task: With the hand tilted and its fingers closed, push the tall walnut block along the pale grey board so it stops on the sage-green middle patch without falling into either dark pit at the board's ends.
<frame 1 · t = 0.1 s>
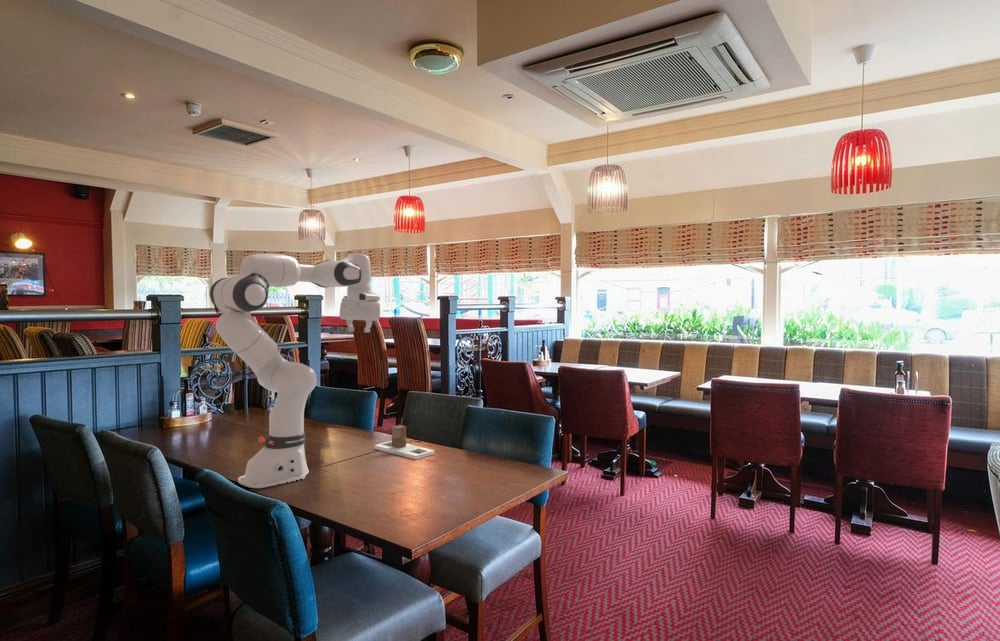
hand: (359, 331, 215), 48 cm above the table, tool pointing down, fingers open, 8 cm apart
walnut block: (399, 446, 224), point 1 cm above the table, touching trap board
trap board: (404, 451, 222), on the table
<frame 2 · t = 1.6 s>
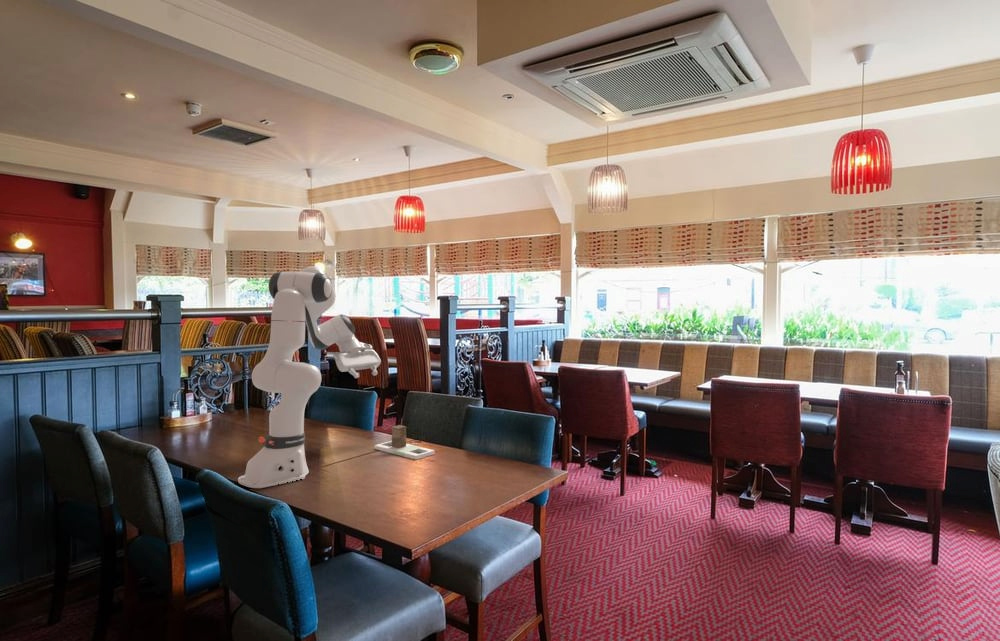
hand: (366, 375, 235), 28 cm above the table, tool tilted 45°, fingers open, 8 cm apart
nothing on the table moved.
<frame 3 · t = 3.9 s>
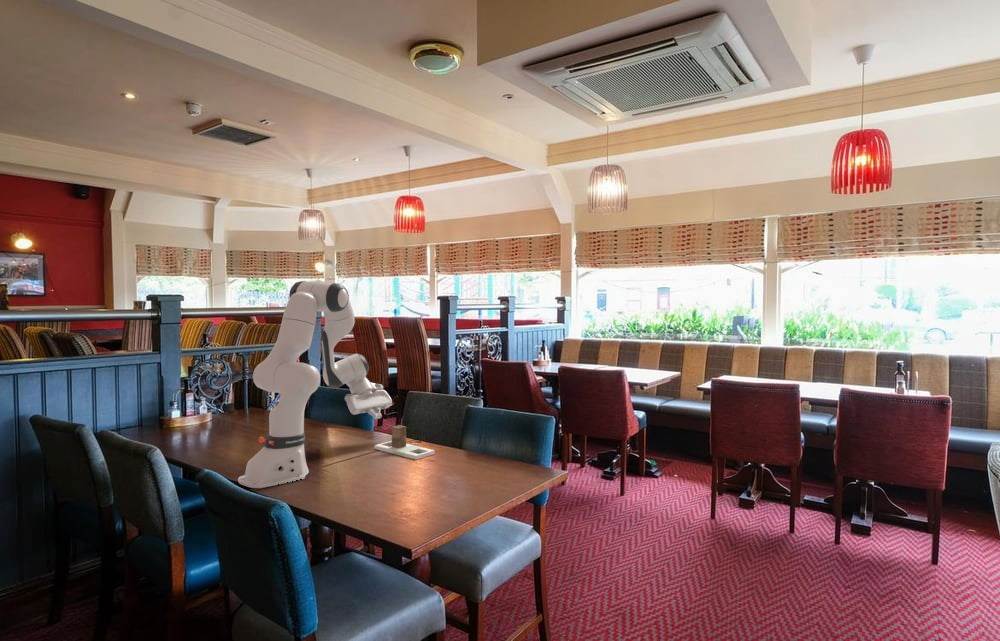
hand: (378, 417, 231), 11 cm above the table, tool tilted 45°, fingers closed
nothing on the table moved.
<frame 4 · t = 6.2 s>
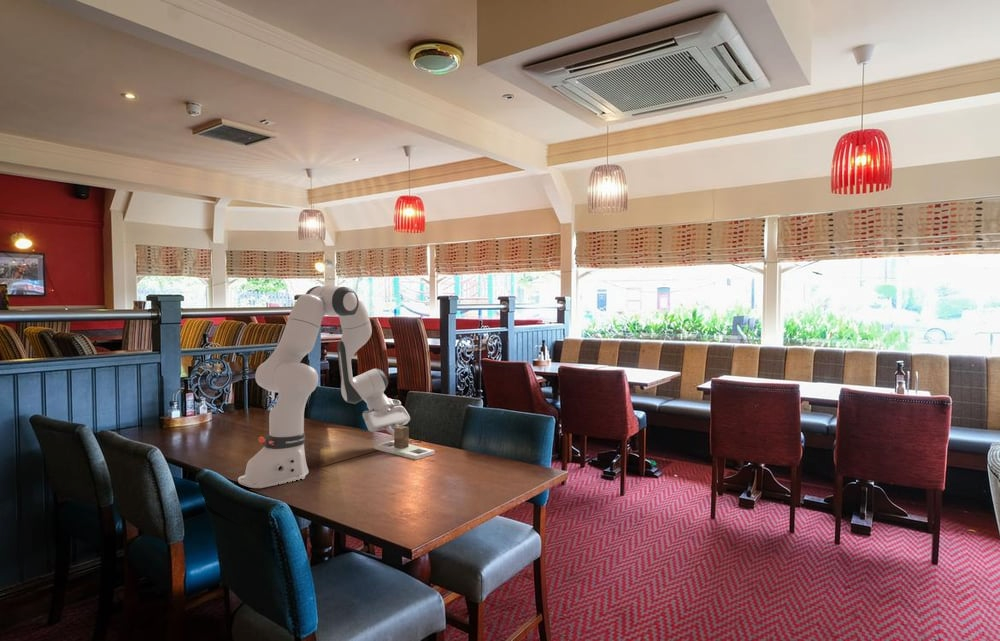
hand: (396, 435, 224), 6 cm above the table, tool tilted 45°, fingers closed, pressing on walnut block
walnut block: (401, 447, 223), point 1 cm above the table, touching gripper, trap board
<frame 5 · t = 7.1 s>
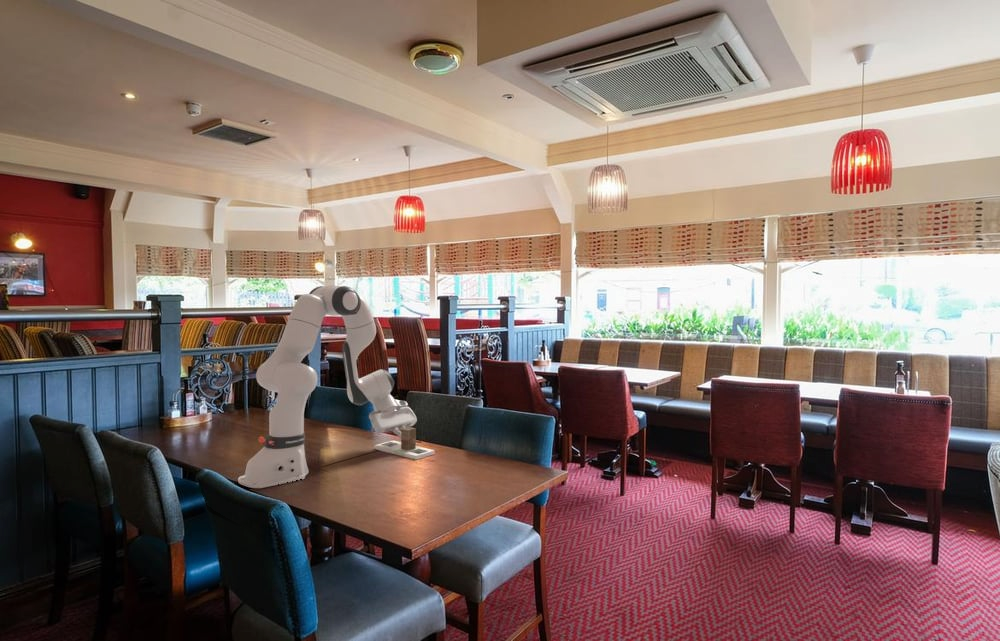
hand: (403, 436, 222), 6 cm above the table, tool tilted 45°, fingers closed, pressing on walnut block
walnut block: (408, 448, 220), point 1 cm above the table, touching gripper, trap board
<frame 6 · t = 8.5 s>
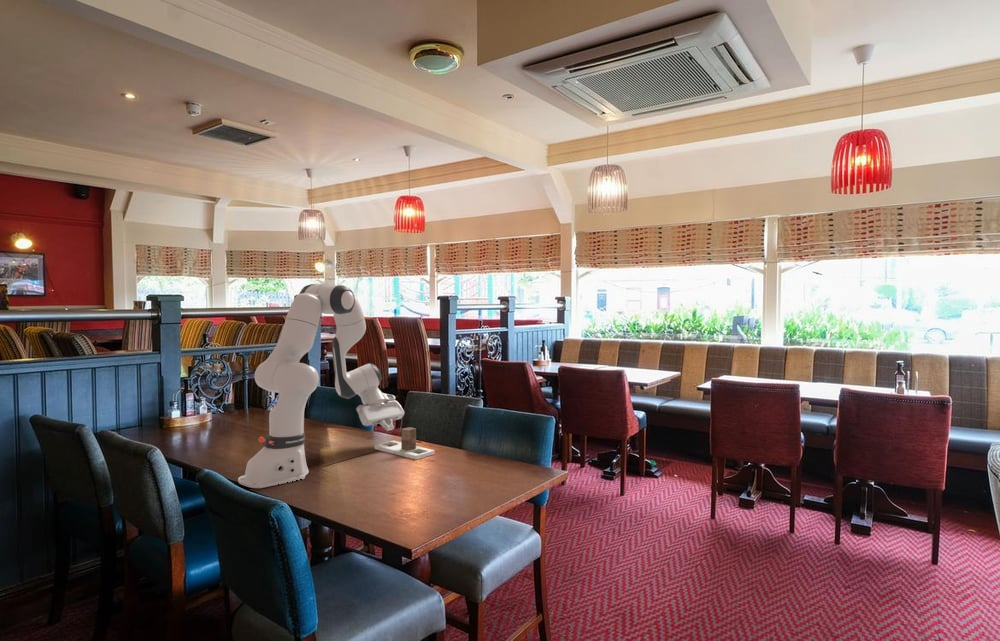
hand: (390, 429, 226), 8 cm above the table, tool tilted 45°, fingers closed
walnut block: (408, 448, 220), point 1 cm above the table, touching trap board
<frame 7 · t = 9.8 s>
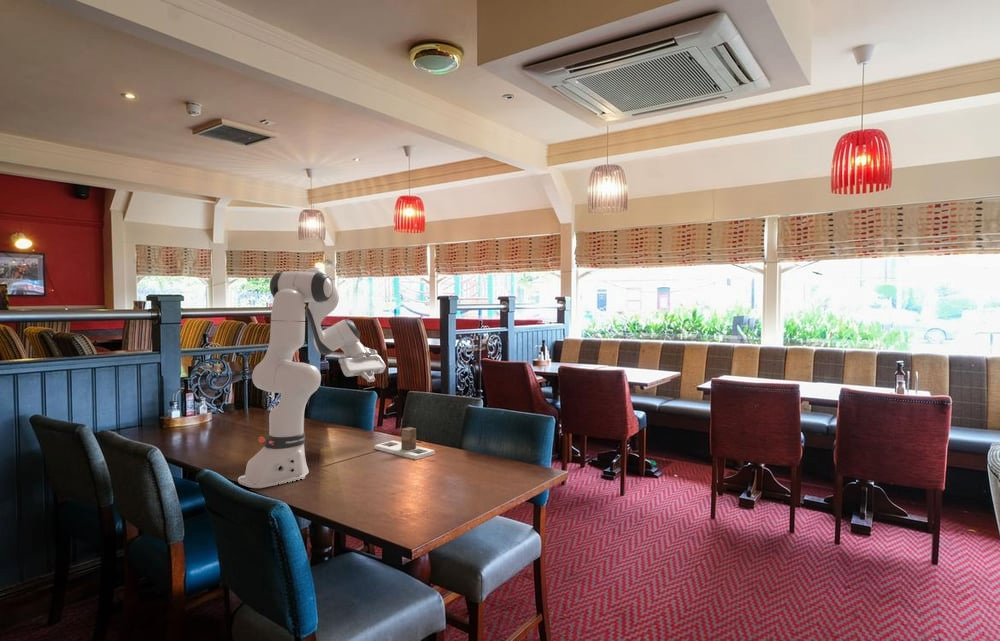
hand: (371, 381, 233), 26 cm above the table, tool tilted 45°, fingers closed
nothing on the table moved.
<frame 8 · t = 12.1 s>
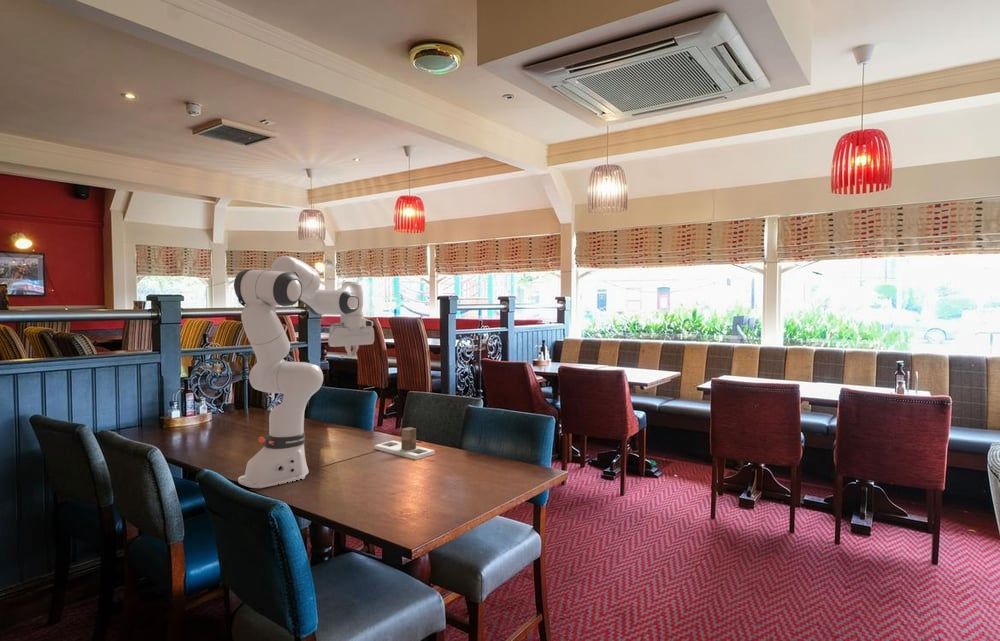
hand: (351, 356, 225), 37 cm above the table, tool pointing down, fingers closed
nothing on the table moved.
at the end: walnut block 0.6 cm from the target spot on the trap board, point 1.5 cm above the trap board's base; walnut block point 1.5 cm above the table; walnut block tilted 0° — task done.
